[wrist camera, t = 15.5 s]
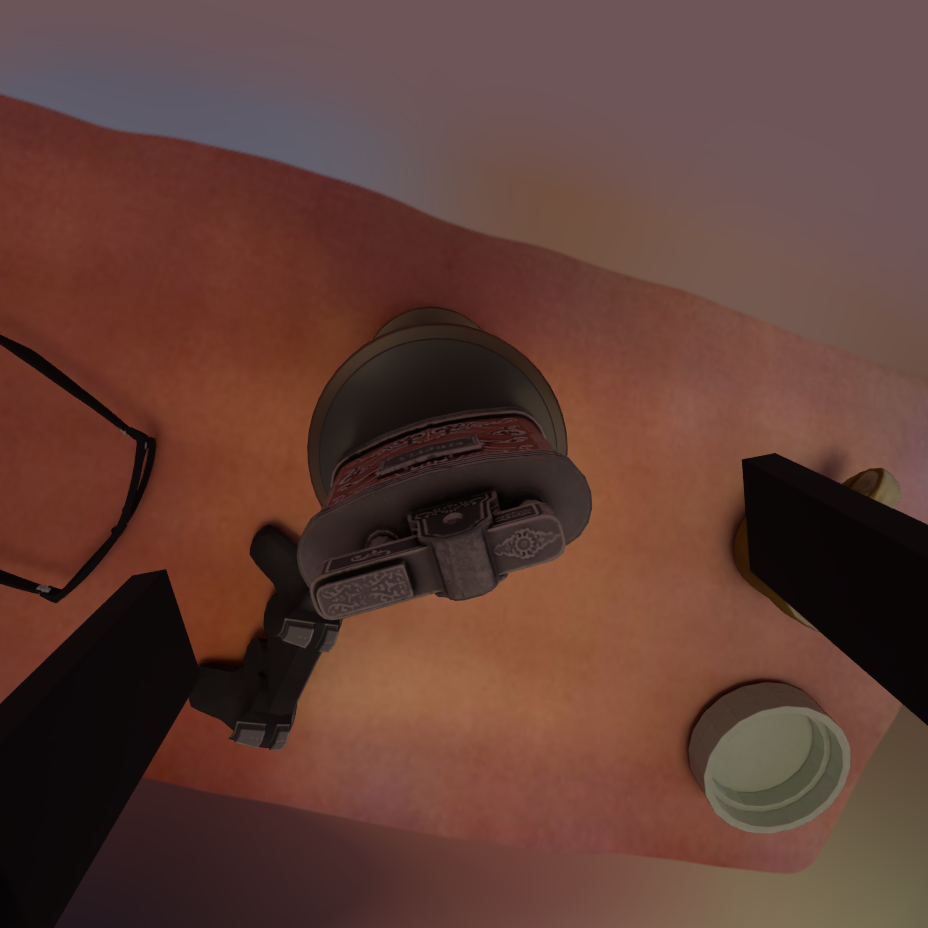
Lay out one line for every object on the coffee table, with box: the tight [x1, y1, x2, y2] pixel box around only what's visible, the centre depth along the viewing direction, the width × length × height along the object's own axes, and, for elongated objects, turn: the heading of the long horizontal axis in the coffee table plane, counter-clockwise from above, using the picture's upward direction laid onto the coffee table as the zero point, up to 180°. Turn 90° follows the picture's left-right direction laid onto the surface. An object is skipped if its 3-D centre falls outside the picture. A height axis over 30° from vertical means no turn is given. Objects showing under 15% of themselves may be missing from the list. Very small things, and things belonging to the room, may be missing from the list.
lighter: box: [297, 407, 592, 620], centre depth 20 cm, size 8×3×10 cm, turn 105°
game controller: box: [189, 525, 343, 750], centre depth 49 cm, size 16×7×10 cm, turn 154°
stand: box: [307, 307, 568, 507], centre depth 36 cm, size 10×10×24 cm
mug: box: [734, 468, 901, 632], centre depth 49 cm, size 12×10×10 cm
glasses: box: [0, 335, 156, 603], centre depth 46 cm, size 17×18×5 cm
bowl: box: [688, 682, 851, 834], centre depth 56 cm, size 12×12×4 cm
